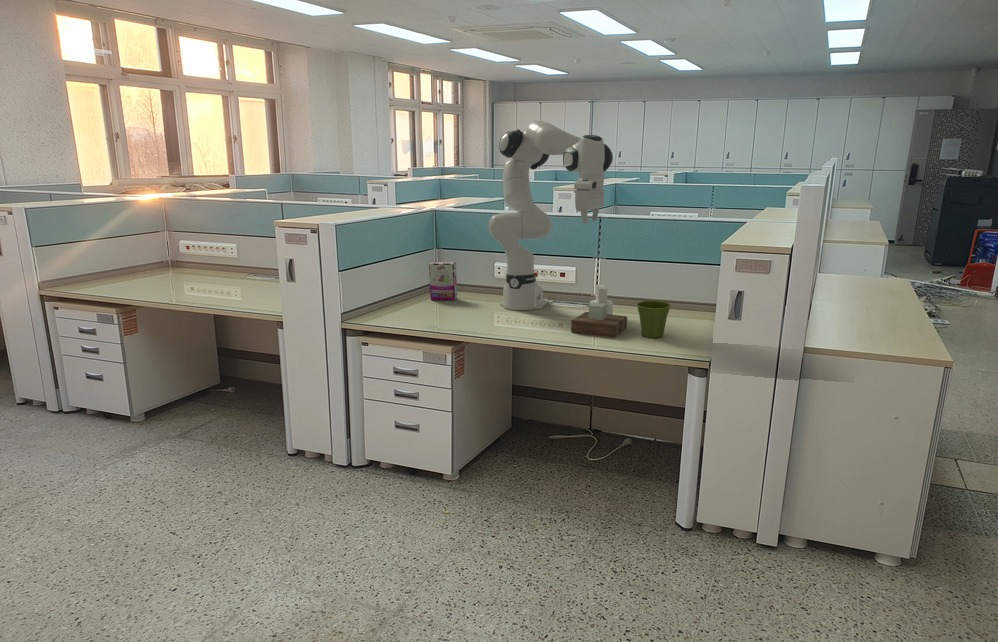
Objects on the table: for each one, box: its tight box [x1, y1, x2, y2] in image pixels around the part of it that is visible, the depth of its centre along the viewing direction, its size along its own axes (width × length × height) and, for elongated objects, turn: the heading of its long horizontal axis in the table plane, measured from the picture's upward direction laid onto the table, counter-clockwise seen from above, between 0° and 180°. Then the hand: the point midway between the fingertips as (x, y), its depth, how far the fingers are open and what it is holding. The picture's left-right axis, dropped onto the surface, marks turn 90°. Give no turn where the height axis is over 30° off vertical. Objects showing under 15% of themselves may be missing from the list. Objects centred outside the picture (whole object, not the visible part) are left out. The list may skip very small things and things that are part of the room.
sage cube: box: [588, 303, 607, 320], centre depth 239 cm, size 5×5×5 cm
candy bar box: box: [428, 261, 458, 301], centre depth 293 cm, size 11×5×16 cm, turn 81°
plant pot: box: [635, 300, 672, 339], centre depth 232 cm, size 12×12×11 cm
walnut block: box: [570, 311, 628, 339], centre depth 240 cm, size 14×16×5 cm
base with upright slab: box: [588, 284, 614, 315], centre depth 259 cm, size 9×9×12 cm
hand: (590, 221), depth 240 cm, fingers open, 8 cm apart
